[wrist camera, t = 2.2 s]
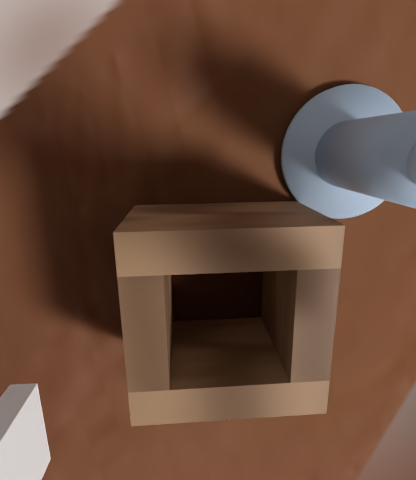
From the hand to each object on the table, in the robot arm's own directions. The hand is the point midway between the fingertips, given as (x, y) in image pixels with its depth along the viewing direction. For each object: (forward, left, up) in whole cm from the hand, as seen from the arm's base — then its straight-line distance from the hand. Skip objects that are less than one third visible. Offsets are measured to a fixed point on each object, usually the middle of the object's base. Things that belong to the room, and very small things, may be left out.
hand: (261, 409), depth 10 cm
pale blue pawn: (+7, +7, -10) cm, 14 cm away
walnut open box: (0, 0, -10) cm, 10 cm away
